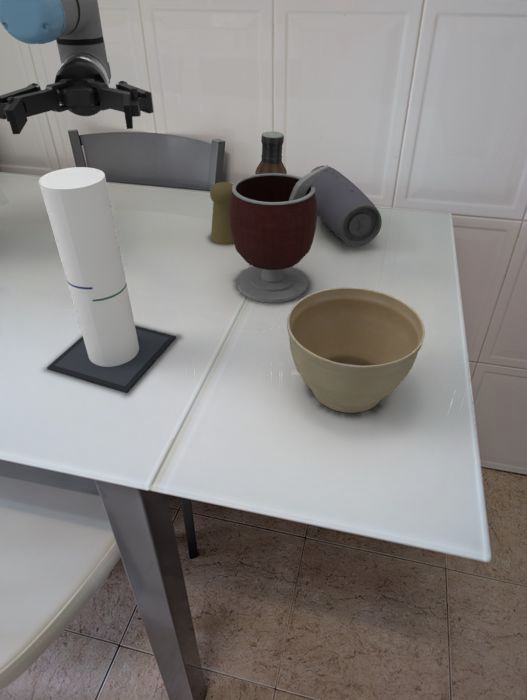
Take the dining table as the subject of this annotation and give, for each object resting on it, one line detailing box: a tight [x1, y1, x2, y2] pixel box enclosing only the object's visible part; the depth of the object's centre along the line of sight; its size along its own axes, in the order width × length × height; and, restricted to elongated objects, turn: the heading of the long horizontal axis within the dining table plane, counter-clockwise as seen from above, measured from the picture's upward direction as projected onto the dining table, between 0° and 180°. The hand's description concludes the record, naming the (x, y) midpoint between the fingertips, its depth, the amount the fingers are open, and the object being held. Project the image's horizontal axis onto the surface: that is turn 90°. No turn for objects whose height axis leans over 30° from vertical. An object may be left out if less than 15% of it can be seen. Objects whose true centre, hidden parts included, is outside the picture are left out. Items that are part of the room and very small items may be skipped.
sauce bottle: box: [254, 130, 288, 175], centre depth 95 cm, size 6×6×20 cm
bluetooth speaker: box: [310, 165, 383, 247], centre depth 102 cm, size 23×9×10 cm, turn 14°
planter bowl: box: [286, 286, 426, 414], centre depth 62 cm, size 16×16×11 cm
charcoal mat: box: [46, 325, 177, 394], centre depth 71 cm, size 13×13×1 cm
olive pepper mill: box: [209, 181, 234, 245], centre depth 98 cm, size 6×6×11 cm
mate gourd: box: [230, 164, 330, 304], centre depth 81 cm, size 16×14×20 cm
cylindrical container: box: [38, 166, 139, 367], centre depth 64 cm, size 7×7×25 cm
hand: (71, 119), depth 61 cm, fingers open, 13 cm apart
